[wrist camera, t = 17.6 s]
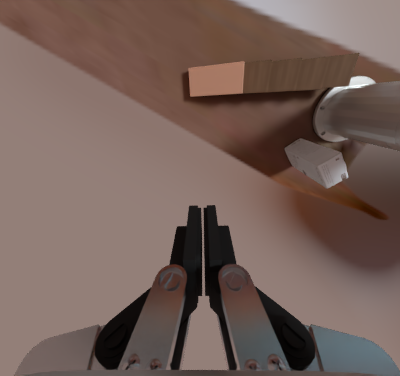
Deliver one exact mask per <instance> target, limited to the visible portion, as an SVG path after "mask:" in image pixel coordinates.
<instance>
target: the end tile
mask: <svg viewBox="0 0 400 376" xmlns="http://www.w3.org/2000/svg"><path fill="white" fill-rule="evenodd" d="M244 65H245V63H244V61H242V62H234V63H226V64H218V65H210V66H202V67H194V68H188V69H189V84H190V97H195V96H210V95H226V94H242V93H243V79H244Z"/></svg>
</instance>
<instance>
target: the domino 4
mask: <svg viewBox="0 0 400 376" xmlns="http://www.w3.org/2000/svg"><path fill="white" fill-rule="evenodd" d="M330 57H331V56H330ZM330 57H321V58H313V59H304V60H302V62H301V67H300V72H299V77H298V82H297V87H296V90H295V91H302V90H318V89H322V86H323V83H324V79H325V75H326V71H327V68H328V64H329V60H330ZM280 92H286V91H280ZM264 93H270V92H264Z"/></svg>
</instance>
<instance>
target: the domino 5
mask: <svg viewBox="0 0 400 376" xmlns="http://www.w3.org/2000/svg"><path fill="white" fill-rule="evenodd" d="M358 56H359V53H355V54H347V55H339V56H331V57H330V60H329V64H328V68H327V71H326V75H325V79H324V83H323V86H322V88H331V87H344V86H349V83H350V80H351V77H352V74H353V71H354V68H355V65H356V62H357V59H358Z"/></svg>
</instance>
